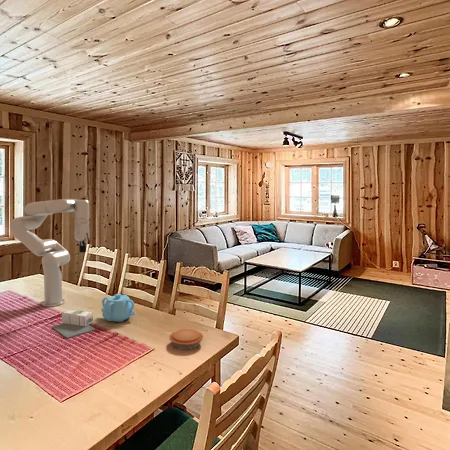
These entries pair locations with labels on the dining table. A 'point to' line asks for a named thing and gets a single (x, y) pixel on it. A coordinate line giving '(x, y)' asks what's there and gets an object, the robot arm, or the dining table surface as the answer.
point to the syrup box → (77, 317)
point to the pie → (186, 338)
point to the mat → (72, 329)
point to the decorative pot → (117, 308)
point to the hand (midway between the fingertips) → (82, 252)
